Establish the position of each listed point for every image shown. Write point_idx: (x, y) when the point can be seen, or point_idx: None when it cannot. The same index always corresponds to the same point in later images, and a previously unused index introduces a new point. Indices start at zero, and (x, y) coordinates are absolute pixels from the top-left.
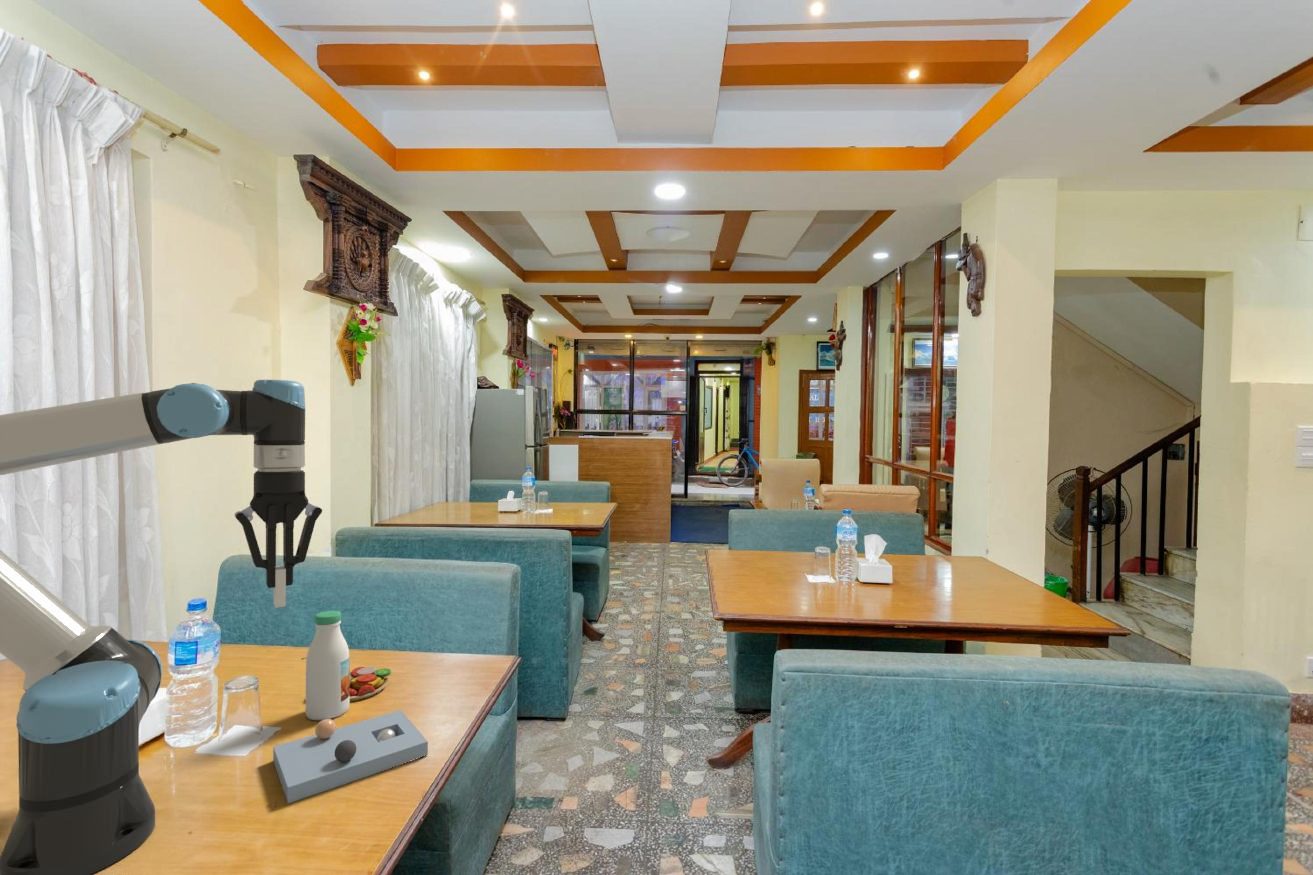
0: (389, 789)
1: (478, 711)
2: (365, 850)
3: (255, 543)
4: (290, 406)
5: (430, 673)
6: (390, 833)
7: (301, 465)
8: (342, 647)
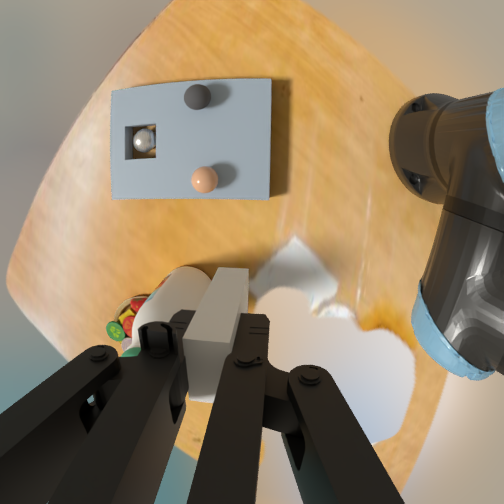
0: (175, 47)
1: (49, 168)
2: None
3: (346, 485)
4: None
5: (72, 310)
6: None
7: None
8: (139, 316)
